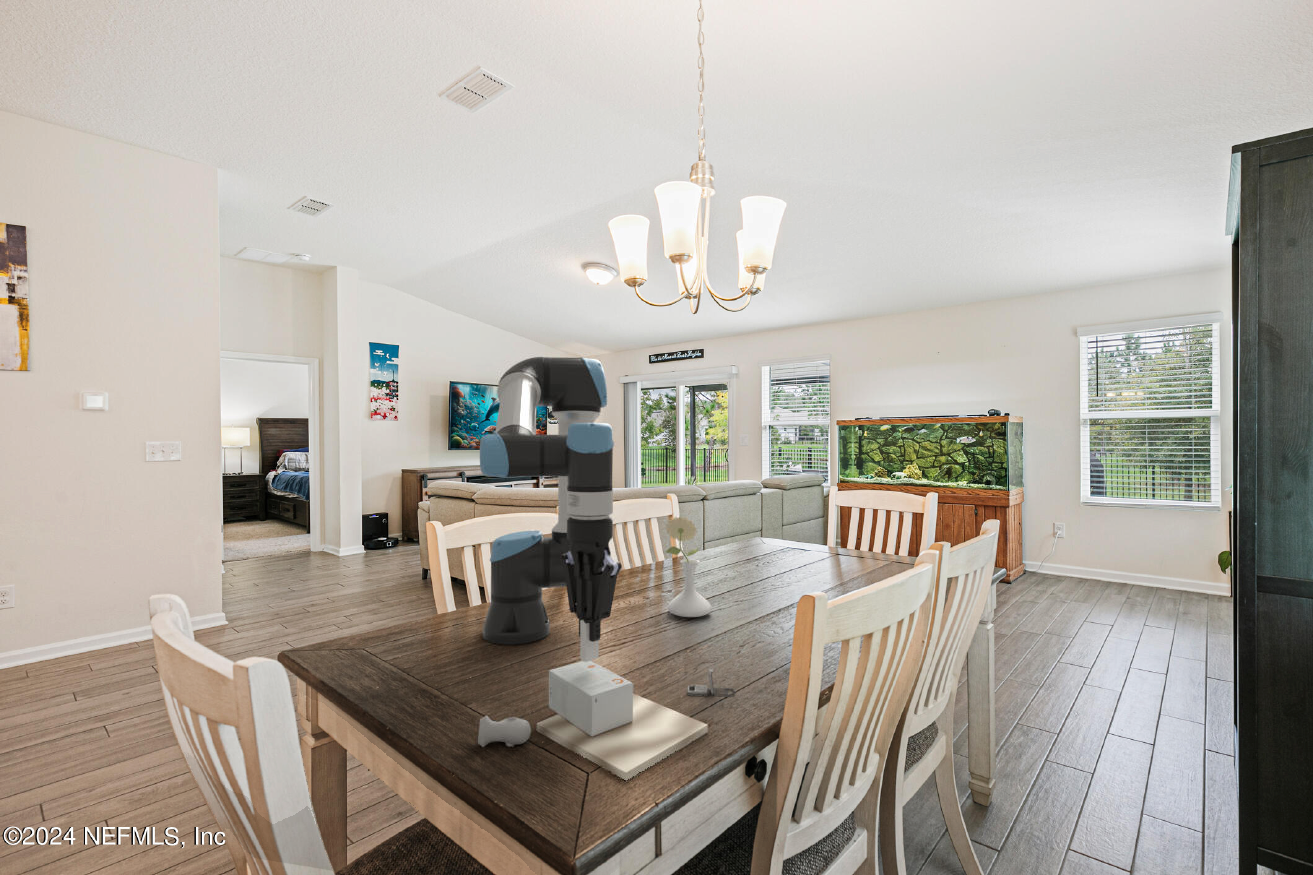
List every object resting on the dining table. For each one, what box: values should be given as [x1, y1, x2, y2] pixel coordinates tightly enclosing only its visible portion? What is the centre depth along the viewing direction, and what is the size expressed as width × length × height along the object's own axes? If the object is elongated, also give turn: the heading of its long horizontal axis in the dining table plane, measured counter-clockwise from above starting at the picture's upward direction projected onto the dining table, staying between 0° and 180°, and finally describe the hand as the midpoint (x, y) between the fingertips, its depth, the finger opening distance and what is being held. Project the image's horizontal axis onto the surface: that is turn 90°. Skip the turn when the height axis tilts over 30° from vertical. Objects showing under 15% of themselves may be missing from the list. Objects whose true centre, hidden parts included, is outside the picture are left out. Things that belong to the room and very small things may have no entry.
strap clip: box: [687, 668, 736, 697], centre depth 109 cm, size 8×3×4 cm, turn 87°
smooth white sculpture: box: [477, 715, 532, 748], centre depth 91 cm, size 4×8×5 cm
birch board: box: [536, 693, 709, 781], centre depth 94 cm, size 20×18×1 cm
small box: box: [548, 660, 634, 737], centre depth 97 cm, size 8×6×13 cm
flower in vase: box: [665, 516, 713, 618], centre depth 155 cm, size 13×11×25 cm
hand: (589, 658), depth 99 cm, fingers closed
